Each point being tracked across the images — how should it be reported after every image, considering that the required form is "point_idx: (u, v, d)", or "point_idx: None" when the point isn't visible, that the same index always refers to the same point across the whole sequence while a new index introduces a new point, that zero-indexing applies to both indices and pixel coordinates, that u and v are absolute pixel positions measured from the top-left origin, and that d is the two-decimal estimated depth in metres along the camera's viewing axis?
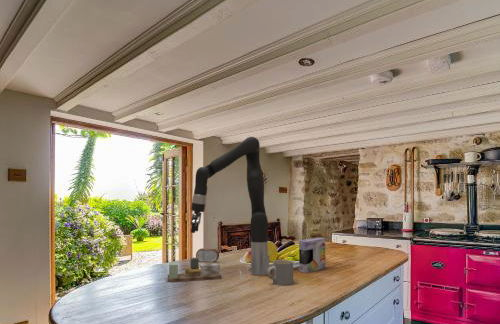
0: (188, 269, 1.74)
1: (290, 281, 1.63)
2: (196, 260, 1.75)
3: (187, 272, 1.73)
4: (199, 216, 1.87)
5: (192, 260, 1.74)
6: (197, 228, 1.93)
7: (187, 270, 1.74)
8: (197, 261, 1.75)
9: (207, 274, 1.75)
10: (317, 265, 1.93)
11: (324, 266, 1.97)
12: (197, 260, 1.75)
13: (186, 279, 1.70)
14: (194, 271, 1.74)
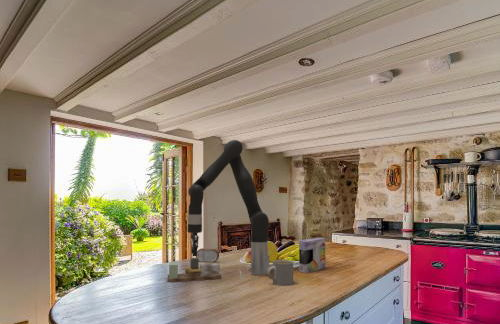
0: (188, 269, 1.74)
1: (290, 281, 1.63)
2: (196, 260, 1.75)
3: (187, 272, 1.73)
4: (198, 237, 1.76)
5: (192, 260, 1.74)
6: None
7: (187, 270, 1.74)
8: (197, 261, 1.75)
9: (207, 274, 1.75)
10: (317, 265, 1.93)
11: (324, 266, 1.97)
12: (197, 260, 1.75)
13: (186, 279, 1.70)
14: (194, 271, 1.74)
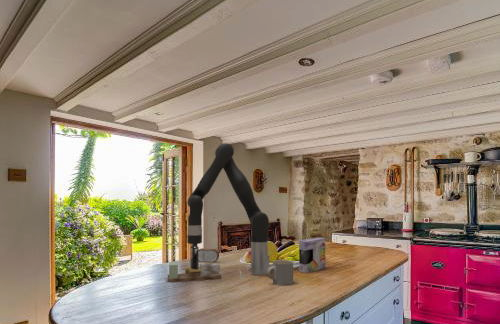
0: (188, 269, 1.74)
1: (290, 281, 1.63)
2: None
3: (187, 272, 1.73)
4: (198, 249, 1.75)
5: None
6: None
7: (187, 270, 1.74)
8: (197, 261, 1.75)
9: (207, 274, 1.75)
10: (317, 265, 1.93)
11: (324, 266, 1.97)
12: (197, 260, 1.75)
13: (186, 279, 1.70)
14: (194, 271, 1.74)
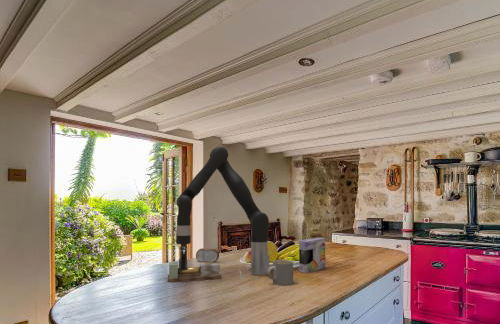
0: None
1: (290, 281, 1.63)
2: None
3: None
4: None
5: (180, 261, 1.73)
6: None
7: None
8: (186, 262, 1.73)
9: (207, 274, 1.75)
10: (317, 265, 1.93)
11: (324, 266, 1.97)
12: (186, 261, 1.73)
13: (186, 279, 1.70)
14: (182, 272, 1.73)
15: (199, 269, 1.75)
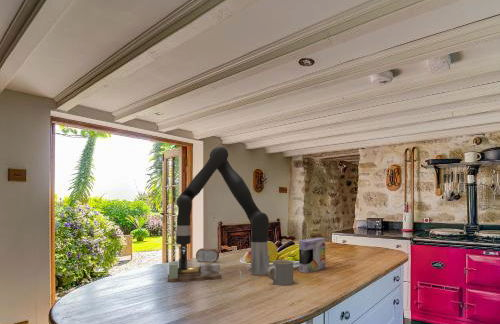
0: None
1: (290, 281, 1.63)
2: None
3: None
4: None
5: (180, 261, 1.73)
6: None
7: None
8: (186, 262, 1.73)
9: (207, 274, 1.75)
10: (317, 265, 1.93)
11: (324, 266, 1.97)
12: (186, 261, 1.73)
13: (186, 279, 1.70)
14: (182, 272, 1.73)
15: (199, 269, 1.75)
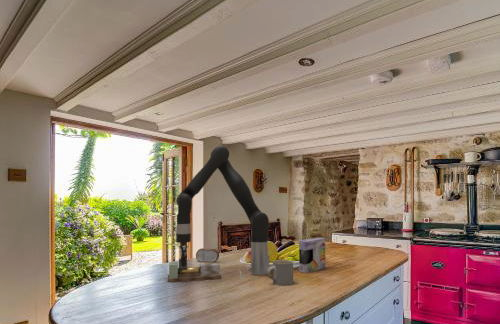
0: None
1: (290, 281, 1.63)
2: None
3: None
4: (187, 247, 1.74)
5: (180, 261, 1.73)
6: None
7: None
8: (186, 262, 1.73)
9: (207, 274, 1.75)
10: (317, 265, 1.93)
11: (324, 266, 1.97)
12: (186, 261, 1.73)
13: (186, 279, 1.70)
14: (182, 272, 1.73)
15: (199, 269, 1.75)
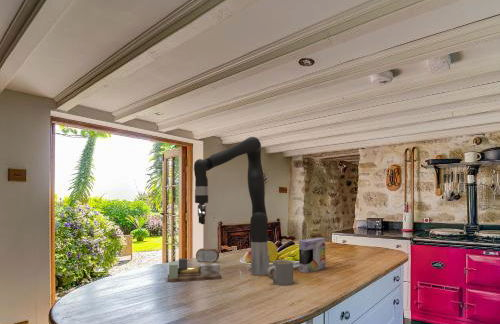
0: None
1: (290, 281, 1.63)
2: (185, 261, 1.73)
3: None
4: None
5: (180, 261, 1.73)
6: None
7: None
8: (186, 262, 1.73)
9: (207, 274, 1.75)
10: (317, 265, 1.93)
11: (324, 266, 1.97)
12: (186, 261, 1.73)
13: (186, 279, 1.70)
14: (182, 272, 1.73)
15: (199, 269, 1.75)
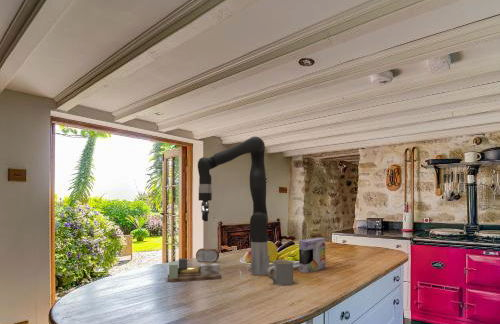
0: None
1: (290, 281, 1.63)
2: (185, 261, 1.73)
3: None
4: None
5: (180, 261, 1.73)
6: None
7: None
8: (186, 262, 1.73)
9: (207, 274, 1.75)
10: (317, 265, 1.93)
11: (324, 266, 1.97)
12: (186, 261, 1.73)
13: (186, 279, 1.70)
14: (182, 272, 1.73)
15: (199, 269, 1.75)
